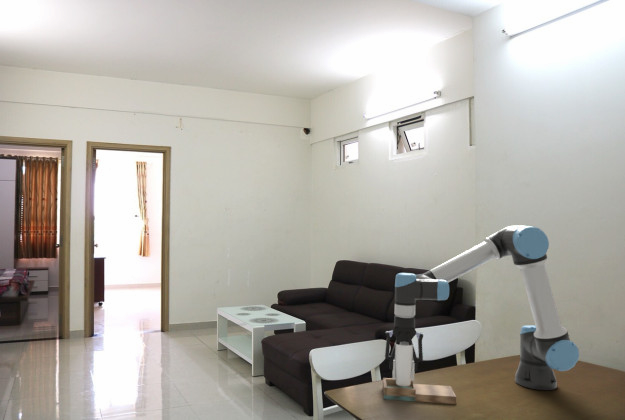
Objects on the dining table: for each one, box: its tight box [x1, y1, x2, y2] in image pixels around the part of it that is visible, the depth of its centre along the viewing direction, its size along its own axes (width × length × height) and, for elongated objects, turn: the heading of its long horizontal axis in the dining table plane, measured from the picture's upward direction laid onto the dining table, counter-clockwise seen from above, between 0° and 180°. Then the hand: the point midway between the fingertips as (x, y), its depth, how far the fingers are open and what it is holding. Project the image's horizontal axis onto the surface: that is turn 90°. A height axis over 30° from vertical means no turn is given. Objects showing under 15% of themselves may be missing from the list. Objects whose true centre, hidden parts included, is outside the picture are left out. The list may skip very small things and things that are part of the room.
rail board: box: [382, 377, 457, 405], centre depth 177 cm, size 25×11×4 cm, turn 84°
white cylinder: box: [394, 341, 414, 387], centre depth 178 cm, size 7×7×15 cm
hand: (403, 379), depth 178 cm, fingers closed on white cylinder, 6 cm apart
